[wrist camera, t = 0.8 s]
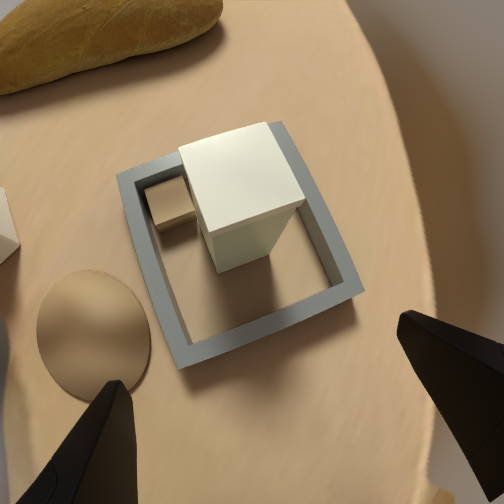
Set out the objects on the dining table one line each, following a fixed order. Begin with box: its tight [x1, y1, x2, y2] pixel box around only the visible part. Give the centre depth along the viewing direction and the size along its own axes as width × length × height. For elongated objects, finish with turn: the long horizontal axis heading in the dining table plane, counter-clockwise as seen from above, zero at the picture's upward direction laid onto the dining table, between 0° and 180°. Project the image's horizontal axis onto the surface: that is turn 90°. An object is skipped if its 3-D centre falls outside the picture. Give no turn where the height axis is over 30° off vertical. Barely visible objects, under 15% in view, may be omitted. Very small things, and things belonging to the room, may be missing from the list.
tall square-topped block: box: [178, 121, 305, 274], centre depth 18 cm, size 4×4×10 cm
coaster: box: [36, 270, 151, 401], centre depth 20 cm, size 10×10×1 cm
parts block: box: [144, 175, 197, 233], centre depth 22 cm, size 3×3×2 cm
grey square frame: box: [116, 121, 365, 370], centre depth 22 cm, size 14×13×2 cm
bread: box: [0, 0, 223, 95], centre depth 23 cm, size 18×35×10 cm, turn 95°
